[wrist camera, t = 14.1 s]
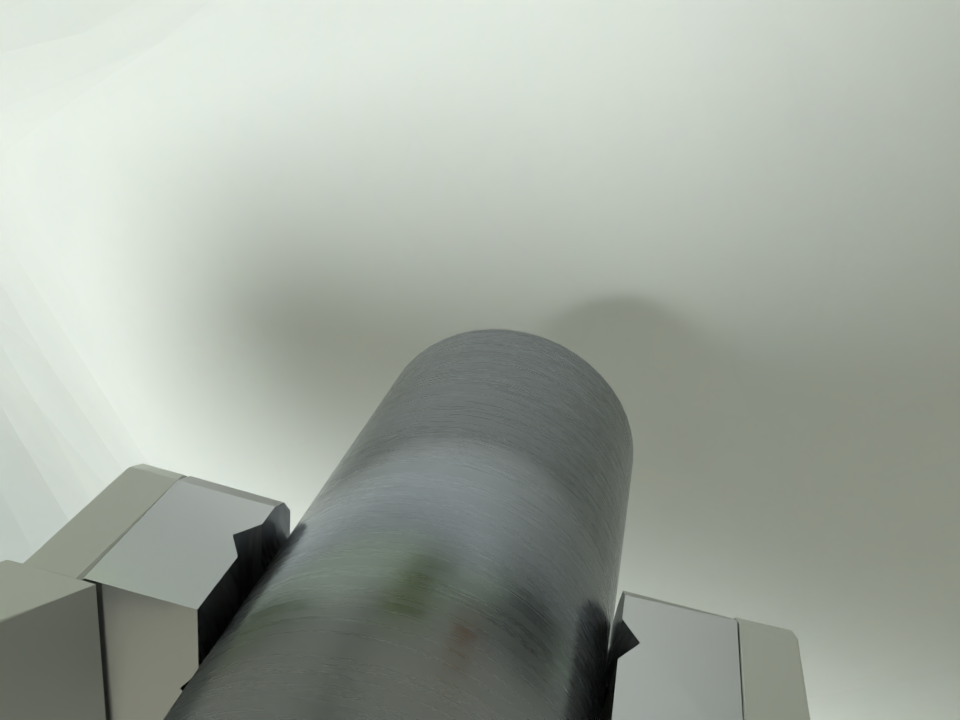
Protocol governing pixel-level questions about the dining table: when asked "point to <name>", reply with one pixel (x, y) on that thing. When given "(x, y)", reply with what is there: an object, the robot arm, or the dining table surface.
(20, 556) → the salad plate
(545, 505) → the cell
